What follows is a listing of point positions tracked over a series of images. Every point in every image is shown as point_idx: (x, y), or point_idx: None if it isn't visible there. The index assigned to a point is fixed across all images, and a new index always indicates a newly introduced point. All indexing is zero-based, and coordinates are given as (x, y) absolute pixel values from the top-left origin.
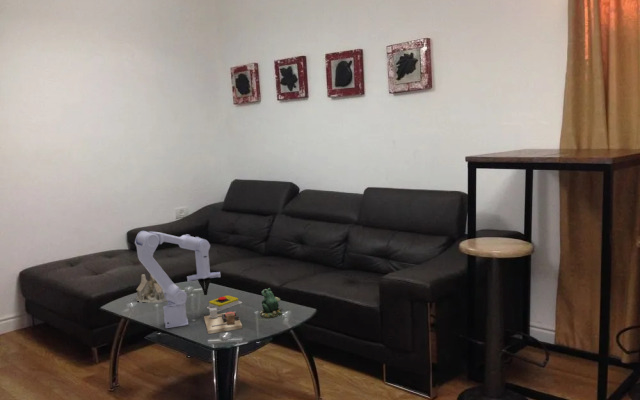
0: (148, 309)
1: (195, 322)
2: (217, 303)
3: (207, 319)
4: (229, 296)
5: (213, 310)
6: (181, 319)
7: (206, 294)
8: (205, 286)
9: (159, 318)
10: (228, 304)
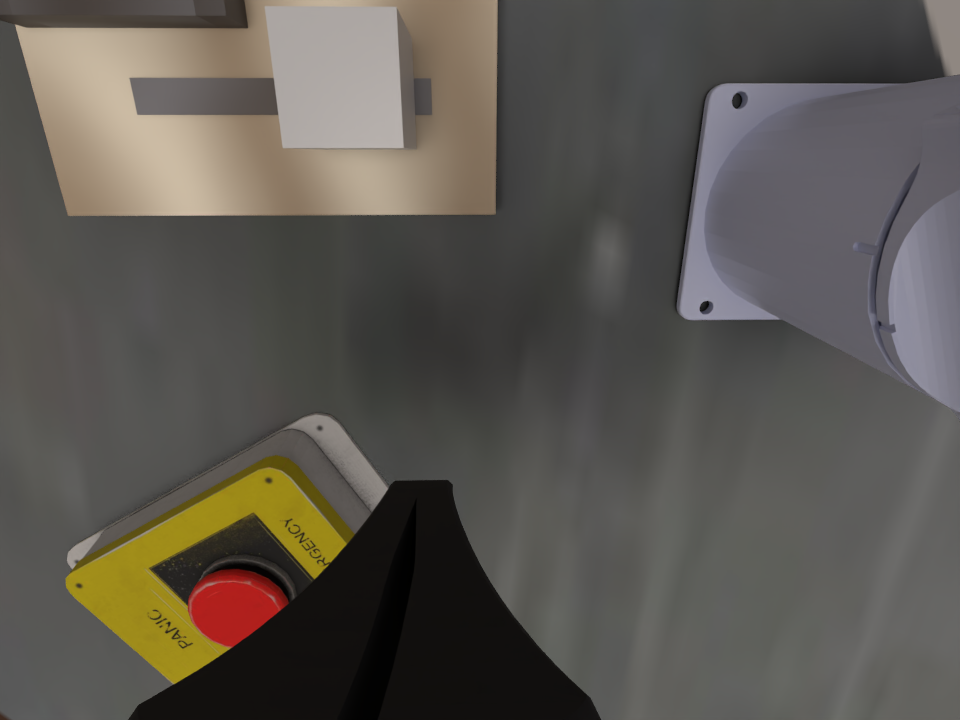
0: (918, 703)
1: (605, 157)
2: (305, 523)
3: (459, 51)
4: (176, 670)
5: (333, 7)
6: (832, 100)
7: (405, 484)
8: (385, 621)
9: (916, 463)
10: (189, 497)
